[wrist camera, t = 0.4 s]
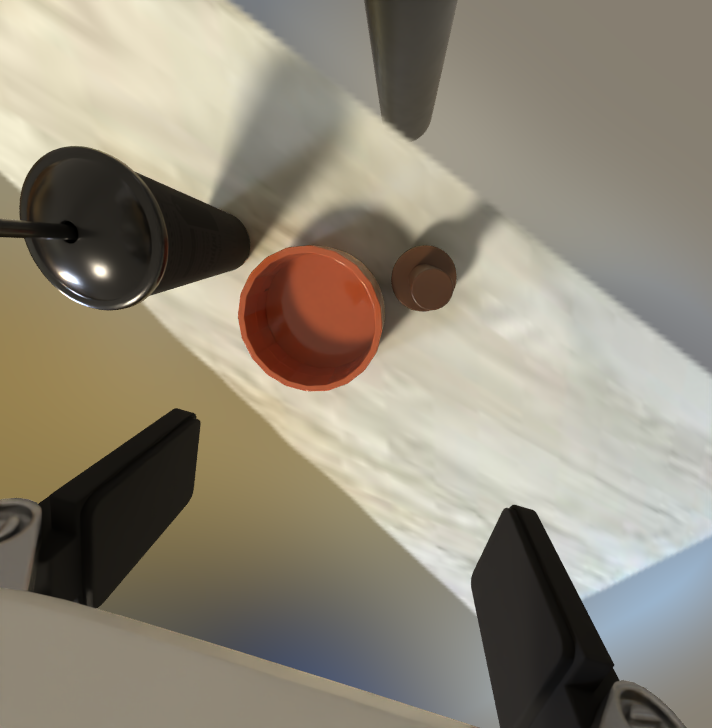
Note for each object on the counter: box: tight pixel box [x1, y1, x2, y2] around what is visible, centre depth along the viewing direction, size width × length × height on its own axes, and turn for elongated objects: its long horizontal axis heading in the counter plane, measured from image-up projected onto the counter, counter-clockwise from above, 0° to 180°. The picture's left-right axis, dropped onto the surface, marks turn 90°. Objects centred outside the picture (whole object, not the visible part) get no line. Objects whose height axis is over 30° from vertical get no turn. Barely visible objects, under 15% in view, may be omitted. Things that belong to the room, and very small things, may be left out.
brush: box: [391, 245, 457, 311], centre depth 24 cm, size 5×5×11 cm
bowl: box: [238, 245, 385, 391], centre depth 29 cm, size 11×11×5 cm
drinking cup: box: [0, 146, 250, 310], centre depth 21 cm, size 8×8×20 cm
